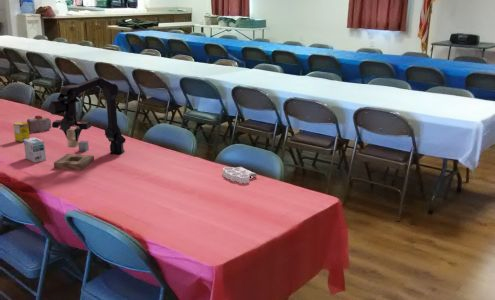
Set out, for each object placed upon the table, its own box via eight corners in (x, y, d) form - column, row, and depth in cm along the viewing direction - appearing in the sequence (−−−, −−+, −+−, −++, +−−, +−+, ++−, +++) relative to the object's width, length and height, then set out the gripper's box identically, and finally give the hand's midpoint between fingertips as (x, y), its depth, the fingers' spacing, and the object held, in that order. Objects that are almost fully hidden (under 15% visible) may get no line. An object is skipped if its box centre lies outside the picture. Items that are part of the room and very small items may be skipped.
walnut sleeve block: (94, 160, 283) (93, 155, 282) (82, 170, 269) (81, 164, 268) (67, 159, 285) (67, 153, 284) (54, 168, 271) (53, 162, 270)
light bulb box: (46, 160, 283) (44, 140, 280) (34, 162, 278) (32, 143, 275) (37, 155, 290) (35, 136, 287) (25, 158, 285) (23, 139, 282)
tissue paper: (260, 180, 262) (237, 186, 253) (239, 170, 275) (215, 175, 267) (261, 173, 261) (237, 179, 252) (239, 164, 274) (215, 169, 266)
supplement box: (30, 140, 316) (28, 123, 313) (21, 143, 312) (19, 125, 308) (24, 139, 319) (22, 121, 316) (15, 141, 315) (13, 123, 311)
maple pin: (78, 145, 276) (77, 128, 273) (75, 147, 272) (73, 130, 269) (71, 145, 276) (70, 128, 274) (67, 147, 272) (66, 130, 270)
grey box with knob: (47, 127, 346) (46, 113, 343) (52, 130, 340) (51, 115, 337) (26, 131, 337) (25, 116, 334) (31, 133, 331) (29, 118, 328)
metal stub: (88, 149, 302) (88, 141, 301) (85, 151, 298) (85, 143, 297) (82, 149, 303) (81, 140, 301) (78, 151, 299) (78, 142, 297)
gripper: (45, 113, 262) (48, 144, 267) (80, 116, 260) (83, 146, 264) (56, 109, 273) (58, 138, 277) (90, 111, 270) (92, 140, 275)
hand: (72, 140), depth 273 cm, fingers closed on maple pin, 4 cm apart
